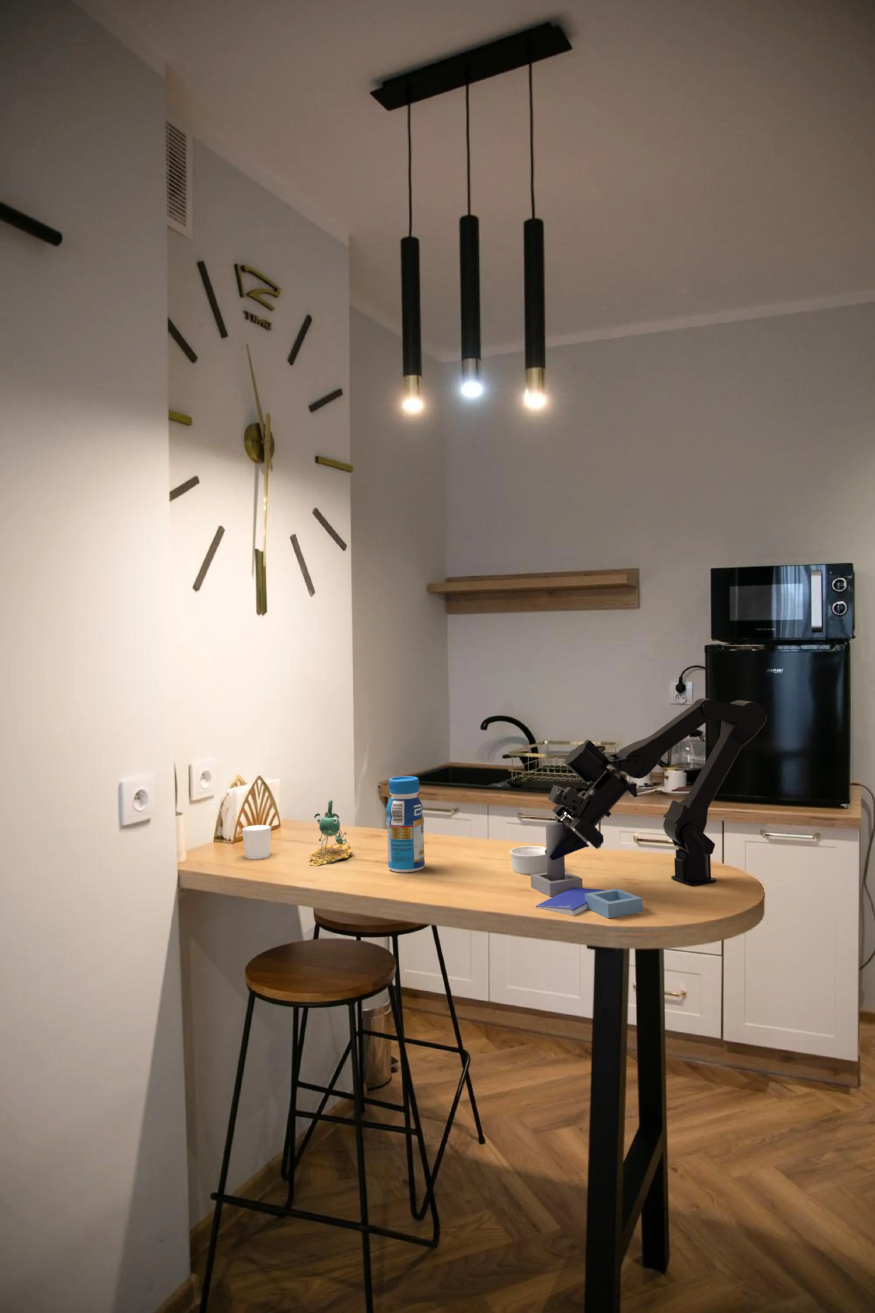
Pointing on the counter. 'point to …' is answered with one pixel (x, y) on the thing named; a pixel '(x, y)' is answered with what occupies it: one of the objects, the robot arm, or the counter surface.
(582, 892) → the blue book
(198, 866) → the counter surface
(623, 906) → the blue bezel
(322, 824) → the frog figurine
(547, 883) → the grey square frame
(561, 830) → the plug
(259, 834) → the white short cylinder
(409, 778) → the beverage bottle
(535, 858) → the ramekin
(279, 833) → the counter surface
